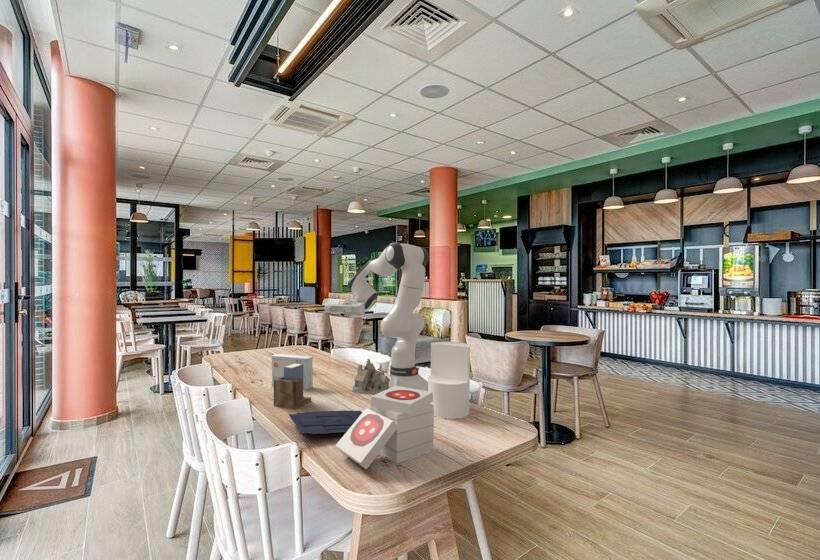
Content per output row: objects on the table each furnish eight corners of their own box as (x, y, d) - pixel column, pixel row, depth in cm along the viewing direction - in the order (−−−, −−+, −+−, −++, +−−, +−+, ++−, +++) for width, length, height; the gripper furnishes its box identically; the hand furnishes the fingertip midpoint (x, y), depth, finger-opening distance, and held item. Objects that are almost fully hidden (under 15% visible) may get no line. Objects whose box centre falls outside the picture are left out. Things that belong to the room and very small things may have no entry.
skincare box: (271, 386, 206) (271, 355, 206) (277, 383, 211) (277, 353, 211) (307, 390, 200) (307, 358, 200) (313, 387, 205) (313, 356, 205)
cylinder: (439, 402, 181) (439, 340, 181) (475, 409, 172) (476, 343, 172) (420, 414, 166) (420, 346, 166) (459, 422, 157) (459, 350, 157)
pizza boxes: (332, 455, 128) (332, 398, 127) (407, 432, 146) (407, 383, 146) (364, 479, 113) (365, 415, 112) (443, 451, 131) (443, 395, 131)
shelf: (311, 400, 183) (311, 375, 183) (294, 408, 172) (294, 381, 171) (290, 398, 187) (290, 373, 187) (273, 405, 175) (273, 379, 175)
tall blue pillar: (303, 397, 183) (303, 364, 182) (292, 402, 175) (292, 367, 175) (295, 396, 184) (295, 363, 184) (283, 401, 177) (283, 366, 177)
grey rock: (347, 390, 200) (349, 359, 199) (372, 384, 212) (374, 356, 211) (368, 398, 189) (370, 366, 189) (393, 392, 201) (395, 362, 201)
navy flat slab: (286, 419, 155) (287, 410, 156) (359, 417, 169) (360, 408, 170) (300, 443, 134) (301, 432, 134) (382, 437, 148) (383, 427, 148)
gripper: (332, 301, 216) (318, 302, 203) (367, 302, 209) (354, 303, 196) (332, 313, 216) (318, 315, 203) (367, 314, 209) (354, 316, 196)
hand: (336, 309), depth 199 cm, fingers open, 8 cm apart
